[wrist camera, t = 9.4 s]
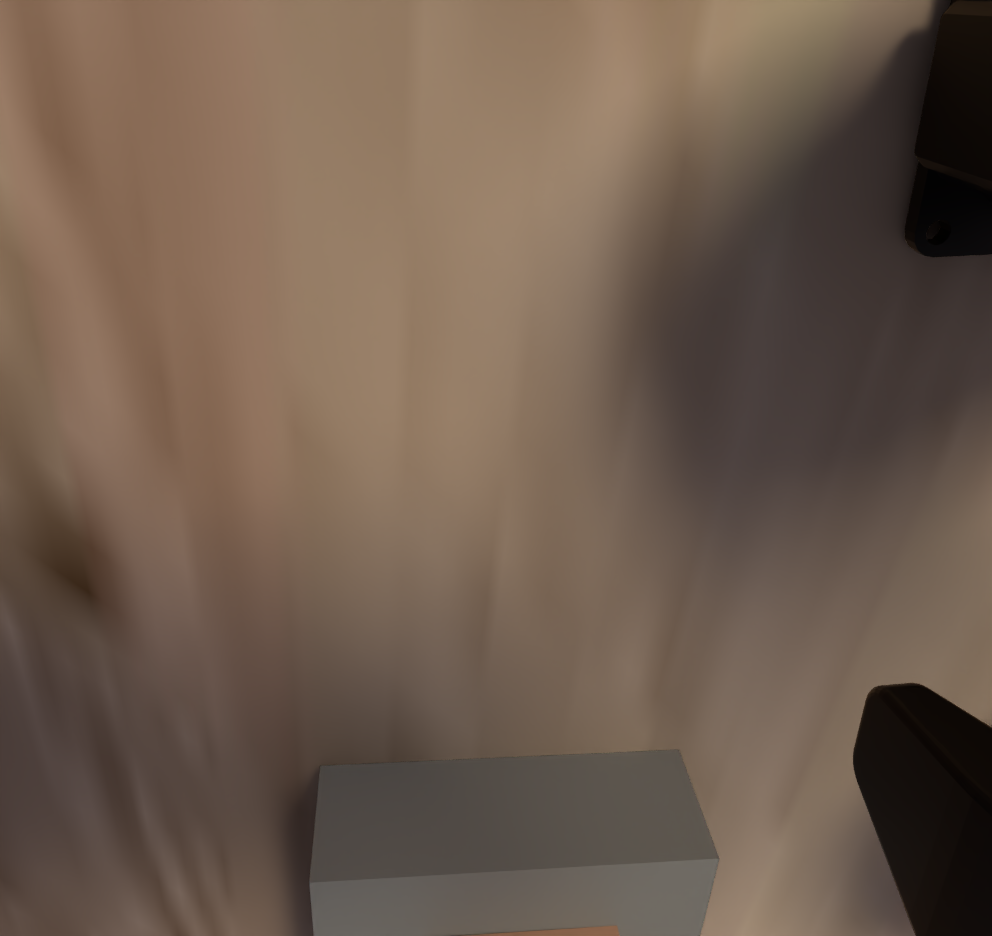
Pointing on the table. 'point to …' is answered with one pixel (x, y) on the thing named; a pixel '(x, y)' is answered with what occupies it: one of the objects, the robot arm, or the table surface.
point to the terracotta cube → (564, 932)
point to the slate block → (511, 846)
